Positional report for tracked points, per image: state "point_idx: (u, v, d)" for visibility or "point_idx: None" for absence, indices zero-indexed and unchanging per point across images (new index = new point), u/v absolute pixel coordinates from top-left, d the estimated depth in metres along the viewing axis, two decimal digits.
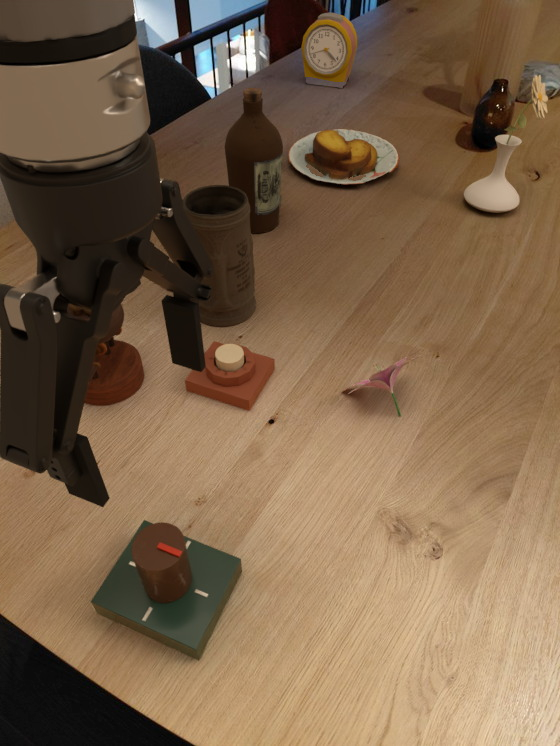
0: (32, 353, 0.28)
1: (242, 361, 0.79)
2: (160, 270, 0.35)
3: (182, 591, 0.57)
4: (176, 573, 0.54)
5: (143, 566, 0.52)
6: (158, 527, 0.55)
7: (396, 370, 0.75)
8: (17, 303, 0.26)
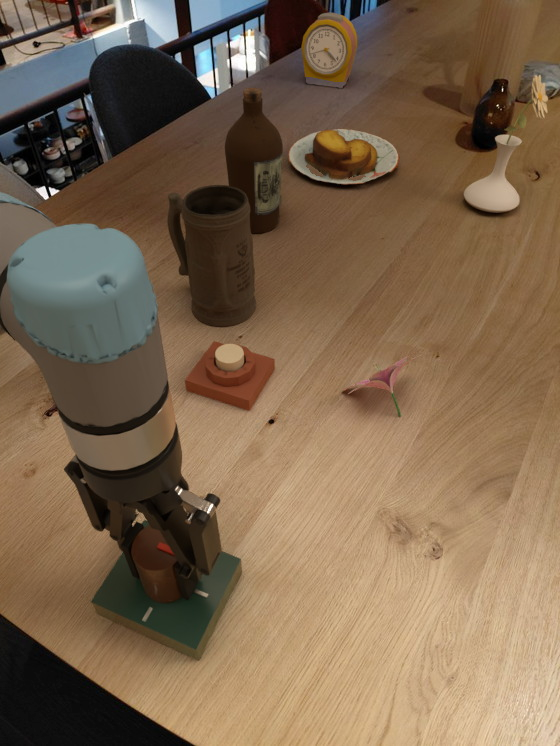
0: (213, 518, 0.47)
1: (242, 361, 0.79)
2: None
3: None
4: None
5: (143, 566, 0.52)
6: None
7: (396, 370, 0.75)
8: (214, 508, 0.45)
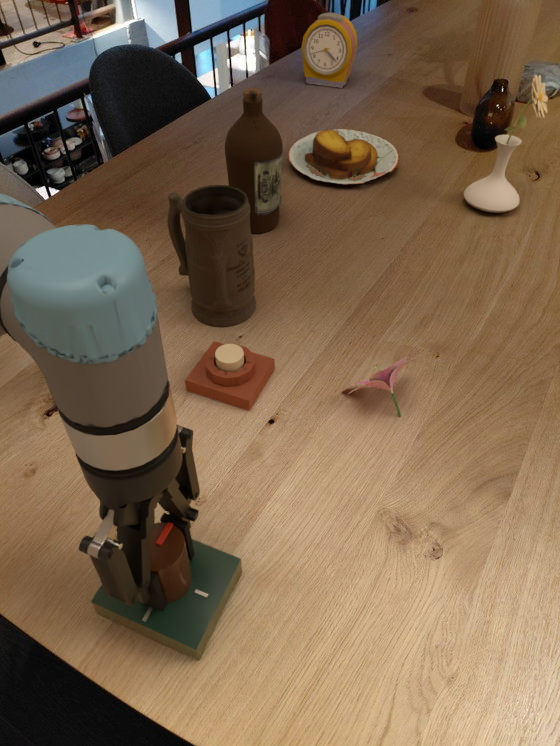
0: None
1: (242, 361, 0.79)
2: None
3: None
4: None
5: (179, 555, 0.53)
6: None
7: (396, 370, 0.75)
8: None
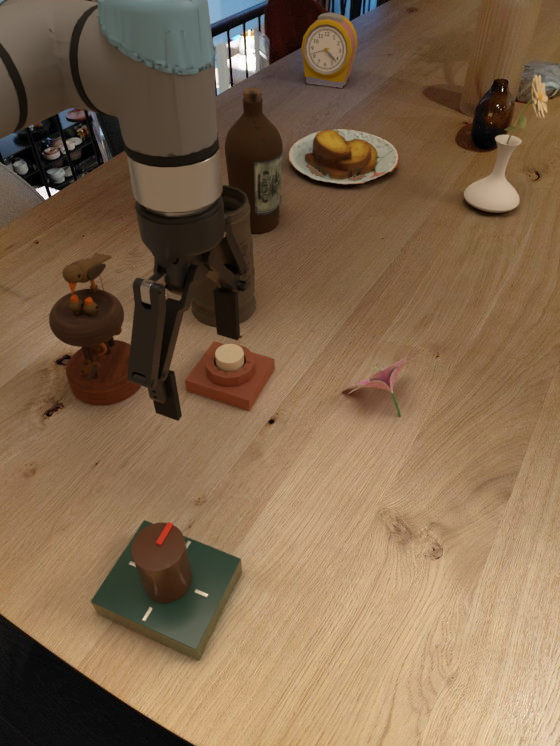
0: None
1: (242, 361, 0.79)
2: None
3: None
4: None
5: (179, 555, 0.53)
6: (137, 548, 0.53)
7: (396, 370, 0.75)
8: None
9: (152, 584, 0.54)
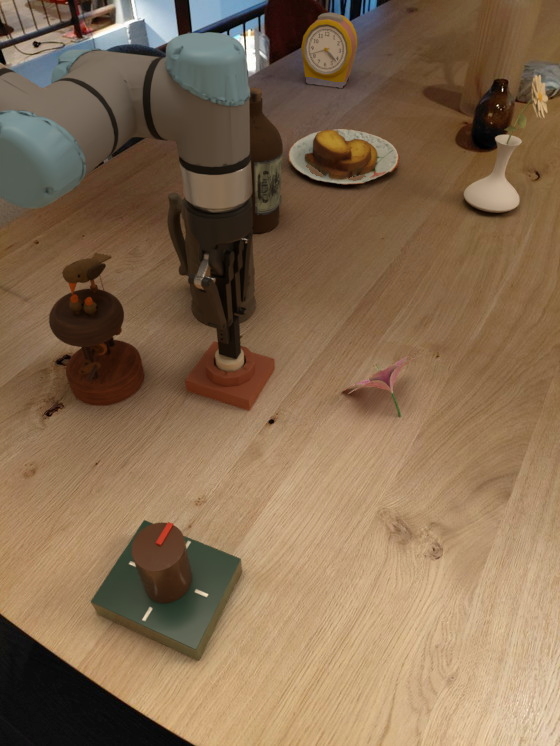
0: None
1: (242, 362, 0.79)
2: None
3: None
4: None
5: (179, 555, 0.53)
6: (137, 548, 0.53)
7: (396, 370, 0.75)
8: None
9: (152, 584, 0.54)
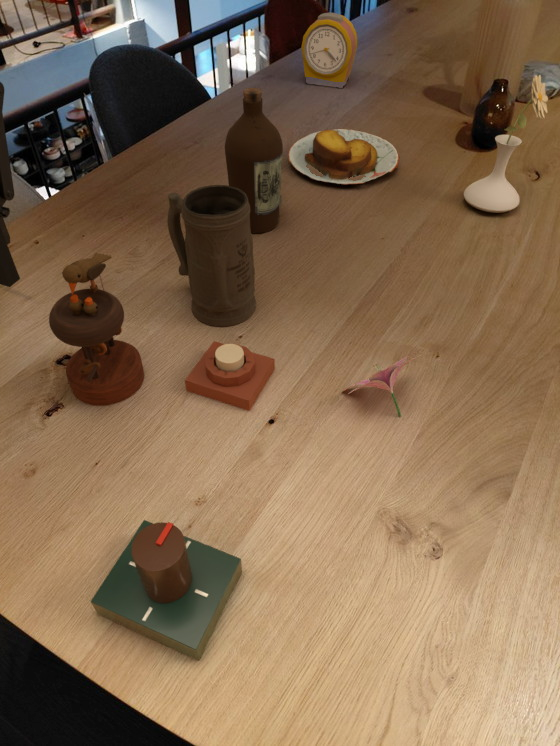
0: None
1: (242, 361, 0.79)
2: None
3: None
4: None
5: (179, 555, 0.53)
6: (137, 548, 0.53)
7: (396, 370, 0.75)
8: None
9: (152, 584, 0.54)
